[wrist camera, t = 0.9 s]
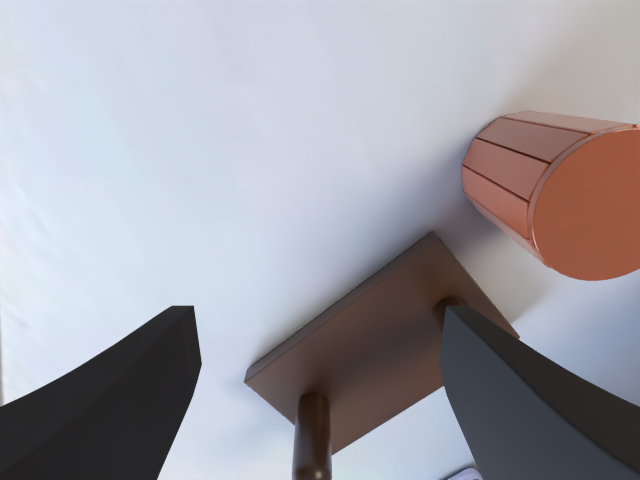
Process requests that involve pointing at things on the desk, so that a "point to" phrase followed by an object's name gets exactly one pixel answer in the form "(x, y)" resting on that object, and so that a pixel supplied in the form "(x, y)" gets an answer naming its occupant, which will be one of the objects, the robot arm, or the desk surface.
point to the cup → (561, 190)
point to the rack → (367, 354)
